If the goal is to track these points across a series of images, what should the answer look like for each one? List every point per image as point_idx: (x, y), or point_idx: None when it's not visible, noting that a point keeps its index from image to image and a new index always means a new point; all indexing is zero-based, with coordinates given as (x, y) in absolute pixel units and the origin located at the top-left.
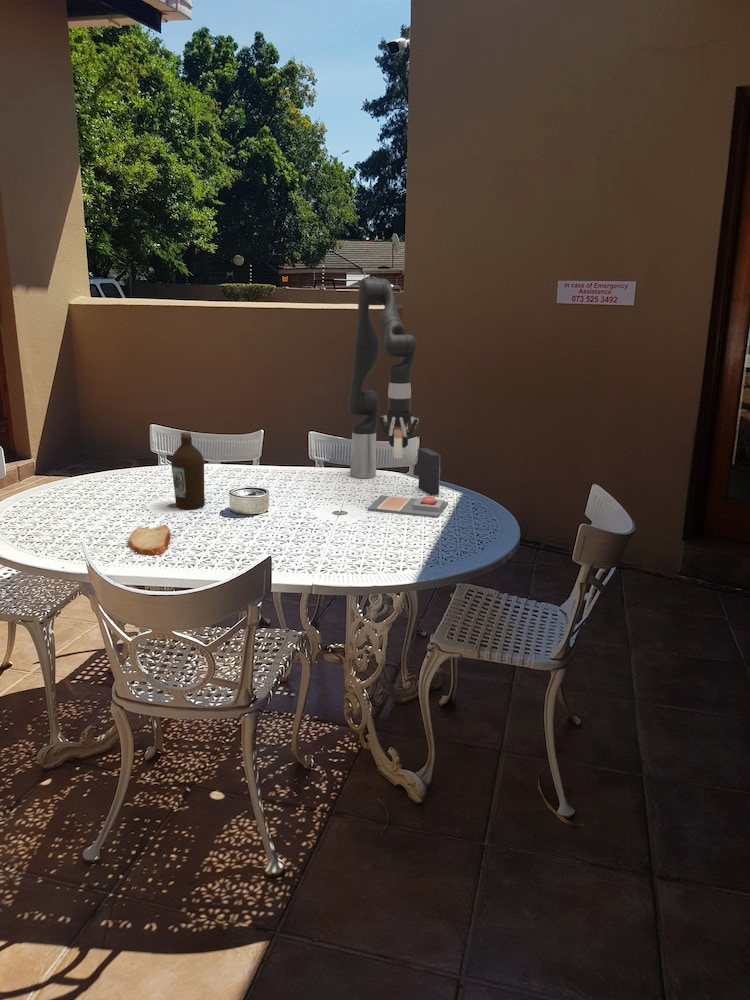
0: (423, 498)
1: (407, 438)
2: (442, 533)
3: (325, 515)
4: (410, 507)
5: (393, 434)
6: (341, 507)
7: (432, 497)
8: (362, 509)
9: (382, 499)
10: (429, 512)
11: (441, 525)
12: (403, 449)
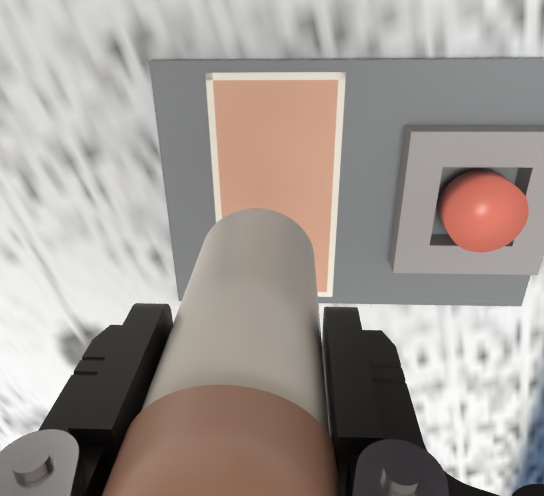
0: (455, 229)
1: (405, 438)
2: (532, 440)
3: (58, 387)
4: (374, 234)
5: (101, 493)
6: (55, 288)
7: (509, 193)
8: (154, 287)
9: (190, 148)
10: (478, 278)
11: (531, 375)
12: (318, 308)
